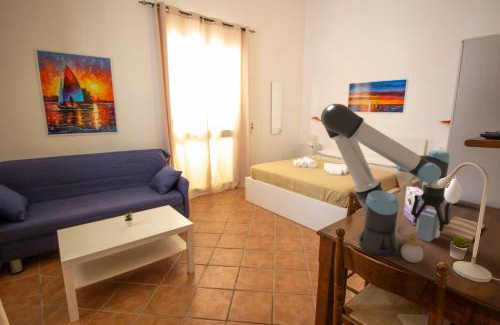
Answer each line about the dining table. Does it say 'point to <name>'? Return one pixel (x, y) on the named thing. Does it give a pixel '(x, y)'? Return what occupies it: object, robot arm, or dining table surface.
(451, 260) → the dining table surface
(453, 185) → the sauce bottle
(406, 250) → the perfume bottle
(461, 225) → the striped wooden board
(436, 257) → the dining table surface
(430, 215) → the slate block
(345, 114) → the robot arm
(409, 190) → the candy box
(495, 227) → the dining table surface
